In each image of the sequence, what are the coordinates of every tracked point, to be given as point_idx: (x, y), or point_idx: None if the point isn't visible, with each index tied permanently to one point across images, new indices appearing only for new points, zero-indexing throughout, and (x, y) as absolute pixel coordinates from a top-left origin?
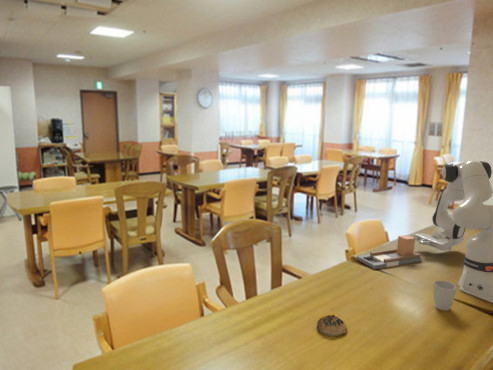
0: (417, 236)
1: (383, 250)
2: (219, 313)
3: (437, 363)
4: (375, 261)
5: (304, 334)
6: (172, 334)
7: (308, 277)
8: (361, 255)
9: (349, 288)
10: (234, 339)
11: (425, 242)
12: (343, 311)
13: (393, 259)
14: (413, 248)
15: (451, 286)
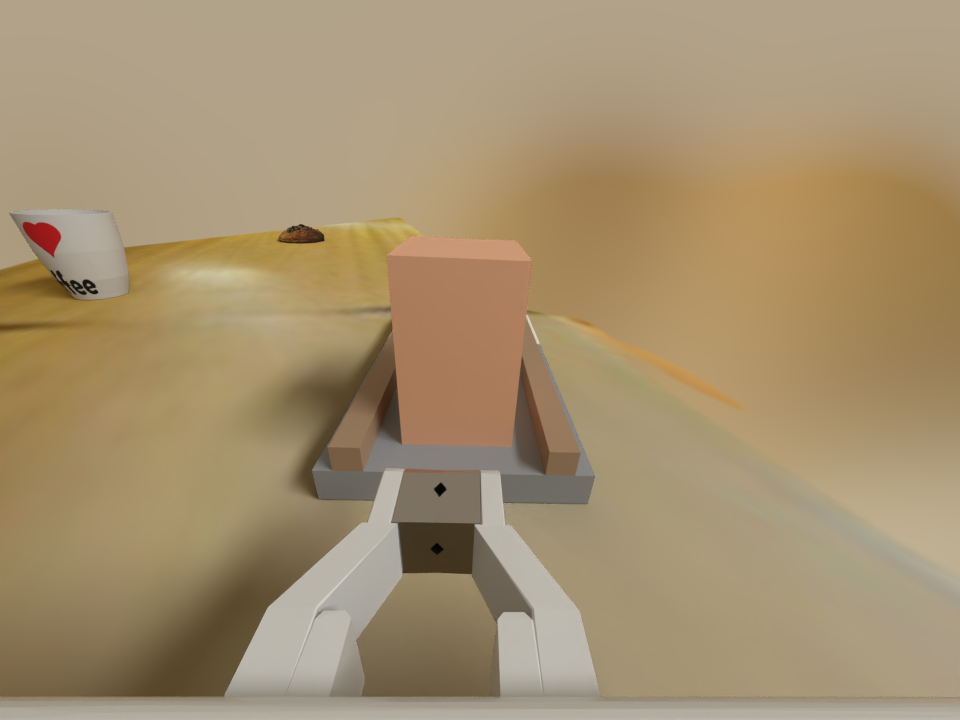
0: (918, 703)
1: (528, 331)
2: (413, 229)
3: (124, 248)
4: None
5: None
6: (402, 223)
7: None
8: None
9: (367, 263)
10: (363, 227)
11: (363, 532)
12: (317, 248)
13: None
14: (398, 374)
15: (32, 227)
